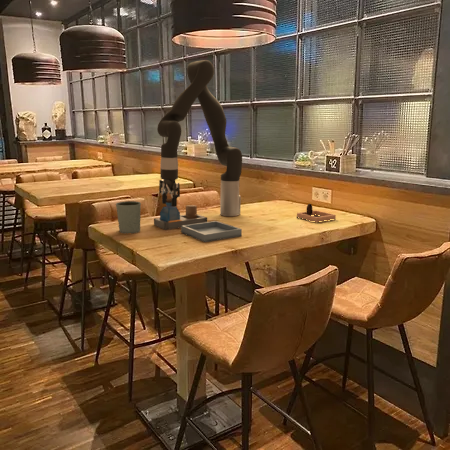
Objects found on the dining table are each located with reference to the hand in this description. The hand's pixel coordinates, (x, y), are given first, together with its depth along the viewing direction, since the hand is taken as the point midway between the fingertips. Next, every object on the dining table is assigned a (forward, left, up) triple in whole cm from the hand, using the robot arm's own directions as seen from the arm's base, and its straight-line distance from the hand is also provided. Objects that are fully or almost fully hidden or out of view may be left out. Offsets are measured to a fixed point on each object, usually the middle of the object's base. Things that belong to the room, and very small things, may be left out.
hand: (169, 205), depth 202 cm
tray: (-7, +22, -10) cm, 25 cm away
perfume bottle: (0, 0, -10) cm, 10 cm away
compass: (-68, +23, -10) cm, 73 cm away
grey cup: (+19, -1, -10) cm, 21 cm away
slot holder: (-6, 0, -10) cm, 11 cm away
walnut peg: (-11, 0, -10) cm, 15 cm away
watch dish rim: (-67, +24, -10) cm, 72 cm away
